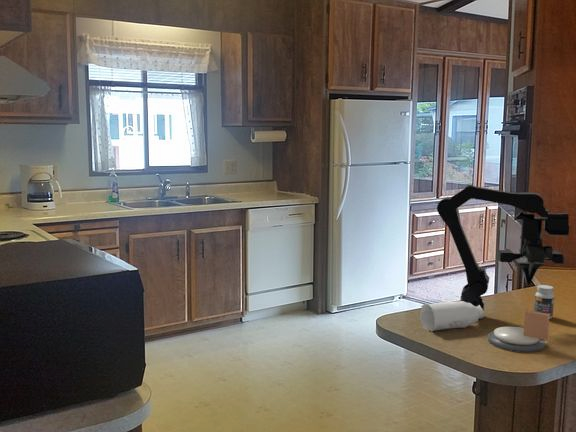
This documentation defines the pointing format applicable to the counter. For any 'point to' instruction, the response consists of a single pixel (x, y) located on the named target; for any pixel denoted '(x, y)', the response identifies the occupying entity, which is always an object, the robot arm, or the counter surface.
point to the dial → (526, 330)
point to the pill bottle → (544, 300)
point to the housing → (515, 347)
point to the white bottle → (449, 315)
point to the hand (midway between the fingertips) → (528, 284)
